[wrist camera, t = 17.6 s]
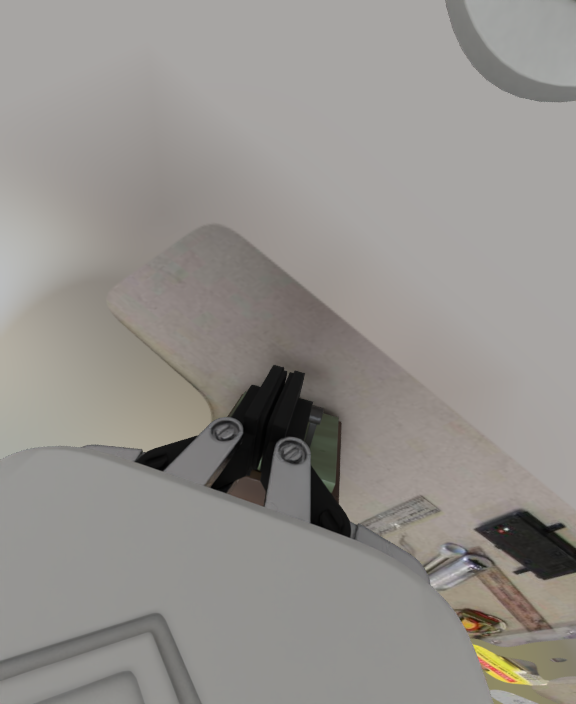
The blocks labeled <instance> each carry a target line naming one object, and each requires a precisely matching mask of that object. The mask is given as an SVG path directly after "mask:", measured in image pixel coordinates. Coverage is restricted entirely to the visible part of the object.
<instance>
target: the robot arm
mask: <svg viewBox="0 0 576 704" xmlns="http://www.w3.org/2000/svg"><path fill="white" fill-rule="evenodd" d="M574 1H576V0H574ZM286 376H287V371H284V367H280V366H276V365H273V367H272V368H271V370H270V372H269V374H268V375H267V377H266V379H265V381H264V382H263V384H262V386H261V387H259V386H255V385H251V387H250V388H249V390H248V391H247V393H246V394H245V396H244V397H243V399H242V400H241V402H240V404H239V405H238V407H237V408H236V410H235V411H234V413H233V414H232V416H231V417H223V418H218V419H216V420H214V421H213V422H212V423H210V424H209V425H208V426H207V427H206V429H204V431H202V432H201V433H200V434H199V435H198V436H194V437H191V438H188V439H184V440H181V441H178V442H175V443H171V444H168V445H165V446H161V447H158V448H155V449H152V450H150V451H148V452H143V451H142V449H134V448H124V447H114V446H104V445H87V446H83V447H70V446H48V447H38V448H31V449H26V450H23V451H20V452H16V453H14V454H11V455H9V456H7V457H5V458H3V459H1V460H0V704H493V700H492V697H491V694H490V691H489V688H488V685H487V682H486V679H485V676H484V674H483V671H482V668H481V665H480V662H479V660H478V657H477V655H476V652H475V650H474V647H473V645H472V643H471V640H470V638H469V636H468V634H467V632H466V630H465V628H464V626H463V624H462V622H461V621H460V619H459V617H458V616H457V614H456V613H455V611H454V610H453V609H452V607H451V606H450V605H449V604H448V603H447V601H446V600H445V599H444V598H443V597H442V596H441V595H440V594H439V593H438V592H437V591H436V590H435V589H434V588H433V587H432V586H431V585H430V580H429V577H428V575H427V573H426V570H425V568H424V567H423V566H422V565H421V563H420V562H419V561H418V560H417V559H416V558H415V557H413V556H412V555H411V554H409V553H408V552H406V551H404V550H403V549H401V548H399V547H398V546H396V545H394V544H393V543H391V542H389V541H388V540H386V539H384V538H382V537H381V536H379V535H377V534H376V533H374V532H372V531H371V530H369V529H367V528H366V527H364V526H362V525H361V524H358V525H355V524H354V523H352V522H350V521H349V519H348V517H347V515H346V513H345V512H344V511H343V509H342V508H341V506H340V505H339V504H338V502H337V501H336V499H335V498H334V497H333V495H332V494H331V492H330V491H329V490H328V488H327V487H326V485H325V484H324V483H323V481H322V480H321V478H320V477H319V476H318V474H317V473H316V471H315V470H314V469H313V467H312V466H311V453H310V449H309V447H308V445H307V444H306V443H305V442H304V439H305V434H306V430H307V426H308V421H309V417H310V413H311V408H312V404H313V402H311V401H308V400H304V399H301V398H299V397H300V393H301V389H302V385H303V380H304V376H305V373H302V372H299V371H294V373H292V372H290V373H289V376H288V378H287V380H286ZM285 381H286V383H285ZM261 458H262V461H261ZM260 461H261V467H260V472H262V473H261V479H260V482H261V484H262V486H263V488H264V490H265V492H266V493H265V498H264V504H263V506H260V505H257V504H254V503H251V502H249V501H246V500H243V499H240V498H237V497H234V496H232V495H230V494H231V493H232V491H233V490H234V488H235V486H236V485H237V482H238V479H241V478H243V477H245V476H246V475H247V476H250V474H251V472H252V469H253V470H257V468H258V466H259V463H260Z"/></svg>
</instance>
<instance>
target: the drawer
mask: <svg viewBox="0 0 576 704" xmlns="http://www.w3.org/2000/svg"><path fill="white" fill-rule="evenodd" d="M246 393H247V392H245V393H244V394H243V396H242V397H241V399H240V400H239V402H238V403H237V405H236V406H235V408H234V410H233V411H232V413H231V414H230V416H229V417H231V416H232V414H233V413H234V411H235V410H236V408H237V407H238V405H239V404H240V402H241V400H242V399H243V397H244V396H245V394H246ZM323 410H324V409H323V408H321V407H317V406H314V405H312V408H311V413H310V417H309V421H308V426H307V430H306V434H305V439H304V442H305V443H306V444H307V445H308V447H309V449H310V453H311V466H312V467H313V469H314V470H315V471H316V473H317V474H318V476H319V477H320V478H321V480H322V481H323V483H324V484H325V485H326V487H327V488H328V490H329V491H330V492H331V493H332V491H333V488H334V486H335V481H336V461H337V441H338V421H339V418H338V417H334V416H331V415H327V414H324V413H323ZM261 461H262V458H261ZM261 461H260V463H259V466H258V468H257V470H254V471H257V472H260V467H261ZM252 470H253V469H252ZM260 473H262V472H260Z"/></svg>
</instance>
